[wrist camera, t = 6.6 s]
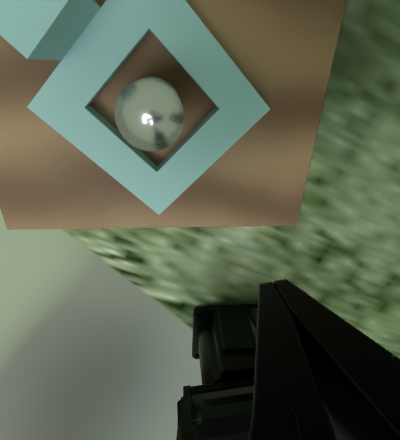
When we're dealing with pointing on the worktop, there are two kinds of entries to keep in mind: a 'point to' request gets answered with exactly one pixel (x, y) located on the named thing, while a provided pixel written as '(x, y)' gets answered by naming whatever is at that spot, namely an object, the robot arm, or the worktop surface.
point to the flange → (108, 66)
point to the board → (193, 114)
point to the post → (149, 113)
